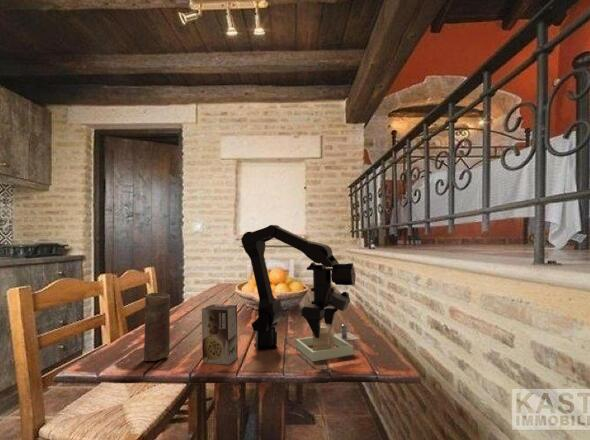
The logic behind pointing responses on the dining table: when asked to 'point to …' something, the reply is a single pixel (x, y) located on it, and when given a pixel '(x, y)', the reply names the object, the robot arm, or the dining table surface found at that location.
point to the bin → (342, 350)
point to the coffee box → (219, 334)
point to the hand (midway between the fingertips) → (323, 333)
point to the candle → (157, 326)
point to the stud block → (345, 334)
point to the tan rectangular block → (324, 338)
